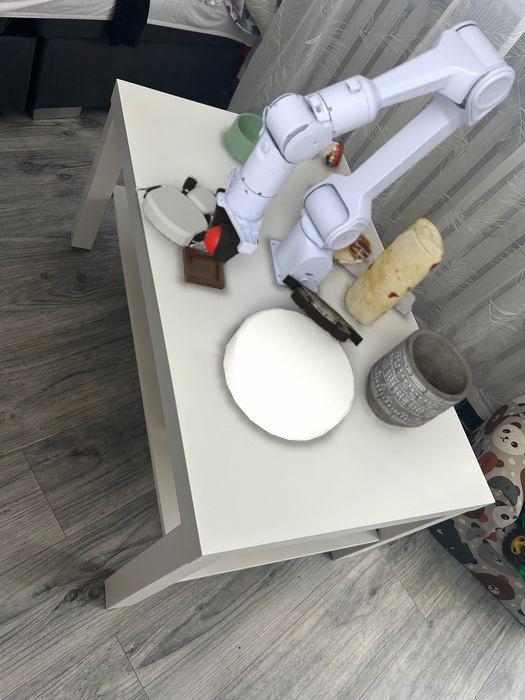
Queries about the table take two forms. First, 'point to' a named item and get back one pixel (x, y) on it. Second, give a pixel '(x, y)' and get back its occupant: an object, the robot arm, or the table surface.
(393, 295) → the food model
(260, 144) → the robot arm
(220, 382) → the table surface
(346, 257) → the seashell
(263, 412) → the container
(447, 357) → the planter
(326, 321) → the emblem
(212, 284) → the coaster
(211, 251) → the apple
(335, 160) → the dentures model
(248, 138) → the bowl
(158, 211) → the robot toy
